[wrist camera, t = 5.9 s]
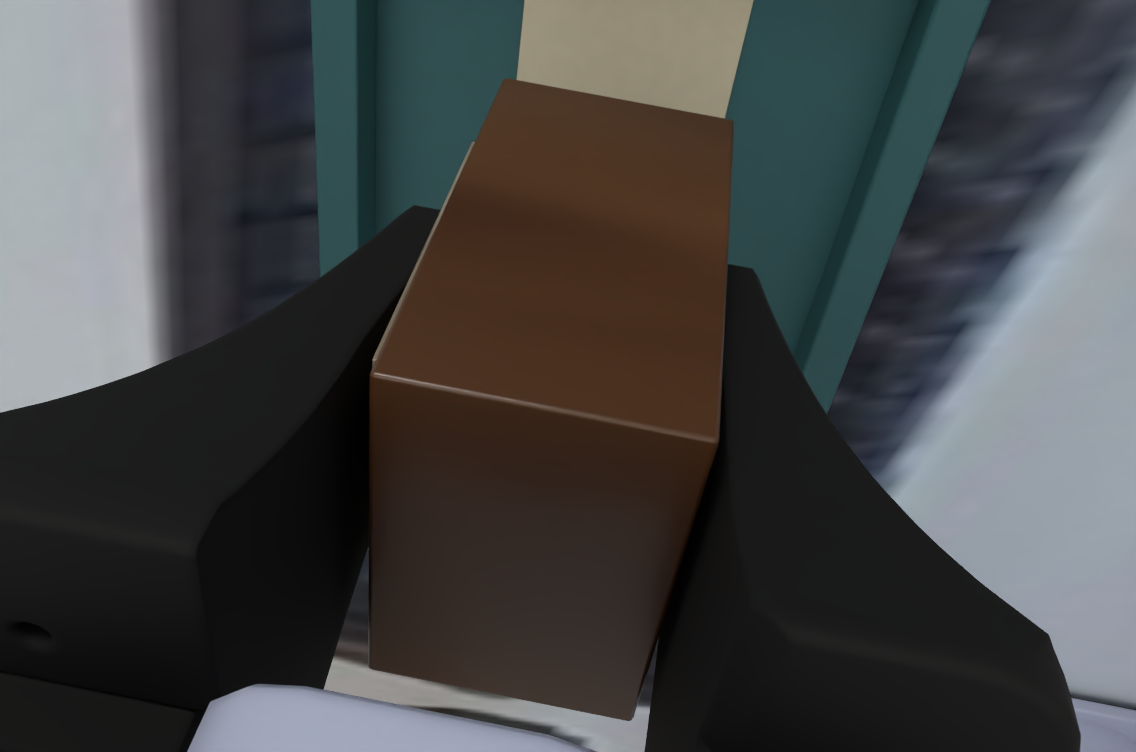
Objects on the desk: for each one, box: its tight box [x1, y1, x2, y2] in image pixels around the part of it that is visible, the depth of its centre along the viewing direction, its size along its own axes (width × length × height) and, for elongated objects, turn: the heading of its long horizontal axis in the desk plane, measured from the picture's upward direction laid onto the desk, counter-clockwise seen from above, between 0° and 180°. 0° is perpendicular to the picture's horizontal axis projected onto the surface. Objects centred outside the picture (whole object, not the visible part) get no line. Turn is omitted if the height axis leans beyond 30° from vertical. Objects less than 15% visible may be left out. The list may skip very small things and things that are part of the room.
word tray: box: [311, 0, 991, 550], centre depth 21 cm, size 18×11×2 cm, turn 173°
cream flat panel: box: [517, 0, 754, 118], centre depth 21 cm, size 13×4×1 cm, turn 173°
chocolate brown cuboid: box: [368, 78, 734, 721], centre depth 12 cm, size 4×3×6 cm
